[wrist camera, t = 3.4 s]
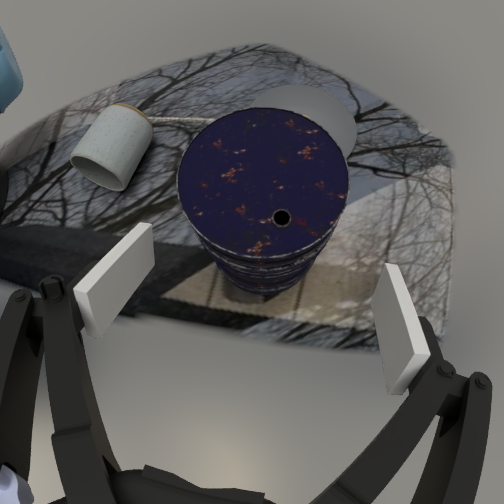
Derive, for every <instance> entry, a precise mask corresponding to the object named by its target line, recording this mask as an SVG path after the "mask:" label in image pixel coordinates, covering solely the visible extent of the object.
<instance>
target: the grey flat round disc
mask: <svg viewBox="0 0 504 504" xmlns="http://www.w3.org/2000/svg"><path fill="white" fill-rule="evenodd" d="M261 106H262V107H277V108H283V109H287V110H291V111H294V112H297V113H299V114H302V115H304V116H306V117H308V118H310V119H312V120H313V121H315V122H316V123H318V124H319V125H320V126H322V127H323V128H324V129H325V130H326V131H328V133H329V134H330V135H331V136H332V137H333V138H334V139H335V140H336V142H337V143H338V145H339V147H340V148H341V150H342V152H343V154H344V156H345V159H346V160H347V159H348V158H349V156H350V154H351V152H352V150H353V148H354V145H355V142H356V137H357V128H356V123H355V120H354V118H353V116H352V114H351V112H350V111H349V109H348V108H347V107H346V106H345V105H344V103H342V102H341V101H340V100H339V99H338V98H336V97H335V96H334V95H332V94H330V93H328V92H326V91H324V90H322V89H319V88H316V87H312V86H307V85H296V84H294V85H284V86H279V87H275V88H272V89H270V90H268V91H266V92H264V93H262V94H261V95H259V96H258V97H257V98H256V99H255V100H254V101H253V102H252V103H251V105H250V106H249V107H261Z"/></svg>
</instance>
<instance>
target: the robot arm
mask: <svg viewBox="0 0 504 504" xmlns="http://www.w3.org/2000/svg"><path fill="white" fill-rule="evenodd" d="M22 88H23V77H22V74H21V71H20V68H19V66H18V63H17V61H16V58H15V56H14V54H13V52H12V49H11V47H10V45H9V43H8V41H7V39H6V37H5V35H4V33H3V31H2V29H1V28H0V114H1V113H4V111H5V109H6V108H7V107H8V105H10V104H11V103H12V101H14V99H16V97H18V95H19V94H20V93H21V91H22ZM7 190H8V176H7V172H6V170H5V168H4V167H3V166H2V165H0V216H1V213H2V210H3V207H4V204H5V200H6V196H7ZM154 265H155V263H154V250H153V235H152V224H148V223H141V222H140V223H139V224H138V225H137V226H136V227H135V228H134V229H133V230H131V231H130V232H129V233H128V234H127V235H126V236H125V237H124V238H123V239H122V240H121V241H120V242H119V243H118V244H117V245H116V246H115V247H114V248H113V249H112V250H111V251H110V252H109V253H108V254H106V255H105V256H104V257H103V258H102V259H101V260H100V261H99V260H95V261H93V262H91V263H89V264H88V265H87V266H86V267H85V268H84V269H83V270H82V271H81V272H80V273H79V274H78V276H76V277H75V278H74V279H73V280H72V281H71V282H70V283H69V284H68V285H67V286H66V285H65V282H64V279H63V277H62V276H60V275H50V276H47V277H45V278H44V279H42V280H41V281H40V282H39V285H38V288H39V291H40V294H41V297H42V298H33V296H32V293H31V291H30V290H28V289H19V290H17V291H15V292H14V293H13V294H11V296H10V298H9V300H8V302H7V304H6V307H5V310H4V312H3V314H2V316H1V319H0V504H32V503H33V502H34V496H33V494H32V492H31V488H30V486H29V484H28V483H27V481H28V476H29V471H30V456H31V439H32V427H33V417H34V408H35V400H36V393H37V386H38V380H39V375H40V369H41V364H42V358H43V353H44V352H45V365H46V375H47V383H48V392H49V399H50V406H51V412H52V418H53V423H54V429H55V433H54V434H52V436H51V440H52V446H53V451H54V455H55V459H56V463H57V467H58V471H59V474H60V478H61V482H62V485H63V489H64V492H65V495H66V496H65V497H63V498H61V499H58V500H56V501H53V502H51V503H48V504H276V503H273V502H272V501H270V500H267V499H264V495H265V493H261V492H254V491H247V490H242V489H236V488H222V489H206V488H200V487H198V486H196V485H194V484H192V483H190V482H188V481H186V480H184V479H182V478H180V477H179V476H177V475H175V474H173V473H170V472H167V471H164V470H160V469H157V468H154V467H151V466H148V465H145V466H144V469H143V470H140V469H138V470H135V469H133V470H125V471H121V469H120V467H119V465H118V463H117V461H116V459H115V457H114V455H113V452H112V449H111V446H110V443H109V440H108V438H107V434H106V431H105V428H104V425H103V422H102V419H101V415H100V412H99V408H98V405H97V401H96V397H95V394H94V390H93V386H92V382H91V377H90V374H89V369H88V365H87V360H86V355H85V350H84V345H83V340H82V335H81V332H80V331H81V330H82V328H83V327H84V326H85V329H86V332H87V335H89V336H92V337H95V338H98V339H101V337H102V336H103V334H104V333H105V332H106V330H107V328H108V327H109V326H110V325H111V323H112V322H113V320H114V319H115V317H116V316H117V315H118V313H119V312H120V311H121V309H122V308H123V306H124V305H125V304H126V302H127V301H128V300H129V298H130V297H131V295H132V294H133V293H134V291H135V290H136V289H137V287H138V286H139V285H140V283H141V282H142V281H143V279H144V278H145V277H146V275H147V274H148V273H149V272H150V270H151V269H152V268H153V266H154ZM370 303H371V308H372V312H373V317H374V322H375V327H376V332H377V337H378V342H379V347H380V353H381V358H382V364H383V370H384V376H385V383H386V389H387V395H403V393H404V392H405V390H406V389H407V388H408V389H409V396H408V397H407V398H406V400H405V401H404V402H403V404H402V405H401V406H400V407H399V409H398V411H397V412H396V413H395V414H394V416H393V417H392V418H391V419H390V421H389V422H388V423H387V424H386V425H385V427H384V428H383V429H382V430H381V431H380V433H379V434H378V435H377V436H376V437H375V438H374V440H373V441H372V442H371V443H370V444H369V445H368V446H367V448H366V449H365V450H364V451H363V452H362V453H361V454H360V455H359V456H358V457H357V458H356V459H355V461H353V463H352V464H351V465H350V466H349V467H348V468H347V469H346V470H345V471H344V472H343V473H342V474H341V475H340V476H339V477H338V478H337V479H336V480H335V481H334V482H332V484H330V485H329V486H328V487H327V488H326V489H325V490H324V491H323V492H322V493H321V494H320V495H319V496H317V497H316V498H315V499H314V500H313V501H312V502H311V503H309V504H371V503H372V502H373V501H374V500H375V499H376V497H377V496H378V495H379V494H380V493H381V491H382V490H383V489H384V488H385V487H386V485H387V484H388V483H389V481H390V480H391V479H392V478H393V477H394V475H395V474H396V473H397V471H398V470H399V469H400V467H401V466H402V465H403V463H404V462H405V461H406V459H407V458H408V457H409V455H410V454H411V452H412V451H413V449H414V448H415V447H416V445H417V444H418V442H419V441H420V439H421V438H422V436H423V434H424V433H425V431H426V430H427V428H428V427H429V425H430V423H431V422H432V420H433V418H434V417H435V415H438V416H440V419H439V422H438V426H437V430H436V433H435V437H434V440H433V444H432V447H431V450H430V453H429V456H428V459H427V462H426V465H425V468H424V471H423V473H422V476H421V479H420V482H419V484H418V487H417V489H416V492H415V494H414V496H413V499H412V501H411V503H410V504H473V503H474V500H475V496H476V492H477V489H478V485H479V480H480V476H481V471H482V466H483V461H484V455H485V450H486V444H487V438H488V429H489V422H490V412H491V400H492V383H491V381H490V379H489V378H488V377H487V375H485V374H484V373H481V372H474V373H473V374H472V375H471V376H470V377H469V378H467V377H464V376H461V375H458V374H456V370H455V368H454V367H453V365H452V364H450V363H449V362H448V361H446V360H444V359H443V356H442V353H441V350H440V347H439V345H438V342H437V340H436V336H435V334H434V331H433V328H432V326H431V324H430V322H429V321H428V320H427V319H426V318H425V317H422V316H417V313H416V311H415V308H414V305H413V303H412V300H411V297H410V295H409V292H408V290H407V287H406V285H405V282H404V280H403V277H402V275H401V273H400V270H399V268H398V265H394V264H388V263H385V265H384V267H383V270H382V273H381V276H380V278H379V281H378V284H377V286H376V289H375V292H374V294H373V297H372V299H371V302H370Z"/></svg>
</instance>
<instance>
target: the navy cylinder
mask: <svg viewBox="0 0 504 504" xmlns="http://www.w3.org/2000/svg"><path fill="white" fill-rule="evenodd" d="M349 190H350V175H349V169H348V165H347V161H346V159H345V156H344V154H343V152H342V150H341V148H340V147H339V145H338V143H337V142H336V140H335V139H334V138H333V137H332V136H331V135H330V134H329V133H328V131H326V130H325V129H324V128H323V127H322V126H320V125H319V124H318V123H316V122H315V121H313V120H312V119H310V118H308V117H306V116H304V115H302V114H299V113H297V112H294V111H291V110H287V109H283V108H277V107H262V106H261V107H249V108H244V109H240V110H236V111H233V112H230V113H227V114H225V115H223V116H221V117H219V118H217V119H215V120H213V121H212V122H210V123H209V124H208V125H206V126H205V127H204V128H203V129H202V130H200V131H199V132H198V133H197V134H196V135H195V137H194V138H193V139H192V140H191V141H190V143H189V144H188V146H187V148H186V149H185V151H184V153H183V155H182V158H181V160H180V163H179V167H178V172H177V194H178V200H179V202H180V205H181V208H182V211H183V213H184V214H185V216H186V218H187V220H188V221H189V223H190V224H191V227H192V229H193V231H194V232H195V234H196V236H197V238H198V239H199V241H200V242H201V243H202V245H203V246H204V248H205V249H206V250H207V252H208V253H209V254H210V255H211V256H212V257H213V259H214V261H215V263H216V264H217V266H218V268H219V269H220V271H221V272H222V273H223V274H224V275H225V276H226V277H227V278H228V279H229V280H230V281H231V282H232V283H233V284H234V285H236V286H237V287H239V288H240V289H242V290H244V291H247V292H249V293H253V294H259V295H270V294H276V293H280V292H283V291H285V290H287V289H289V288H291V287H292V286H294V285H295V284H296V283H297V282H298V281H299V280H301V278H302V277H303V276H305V274H306V273H307V272H308V271H309V269H310V268H311V266H312V265H313V263H314V261H315V259H316V257H317V256H318V255H319V253H320V252H321V251H322V249H323V248H324V247H325V245H326V243H327V242H328V240H329V239H330V237H331V235H332V234H333V232H334V230H335V228H336V226H337V223H338V221H339V219H340V217H341V215H342V213H343V211H344V209H345V207H346V204H347V200H348V197H349Z"/></svg>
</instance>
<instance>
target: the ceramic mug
mask: <svg viewBox="0 0 504 504" xmlns="http://www.w3.org/2000/svg"><path fill="white" fill-rule="evenodd" d="M152 136H153V127H152V124H151V122H150V121H149V119H148V118H147V117H146V116H145V115H144V114H143V113H142V112H141V111H139V110H138V109H136V108H134V107H132V106H130V105H126V104H112V105H110V106H108V107H107V108H106V109H105V110H104V111H103V112H102V113H101V114H100V115H99V116H98V117H97V118H96V120H95V121H94V123H93V124H92V125H91V127H90V128H89V130H88V131H87V132H86V134H85V135H84V136H83V138H82V139H81V140H80V142H79V143H78V144H77V146H76V147H75V149H74V150H73V152H72V153H71V155H70V162H71V164H72V165H73V166H74V168H75V169H76V170H77V171H78V172H80V173H81V174H82V175H83V176H85V177H86V178H88V179H89V180H91V181H93V182H94V183H96V184H98V185H100V186H103V187H105V188H107V189H110V190H114V191H123V190H124V189H125V188H126V187H127V185H128V183H129V181H130V179H131V177H132V175H133V173H134V171H135V170H136V168H137V166H138V164H139V162H140V160H141V158H142V156H143V155H144V153H145V151H146V150H147V148H148V146H149V144H150V142H151V139H152Z"/></svg>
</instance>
